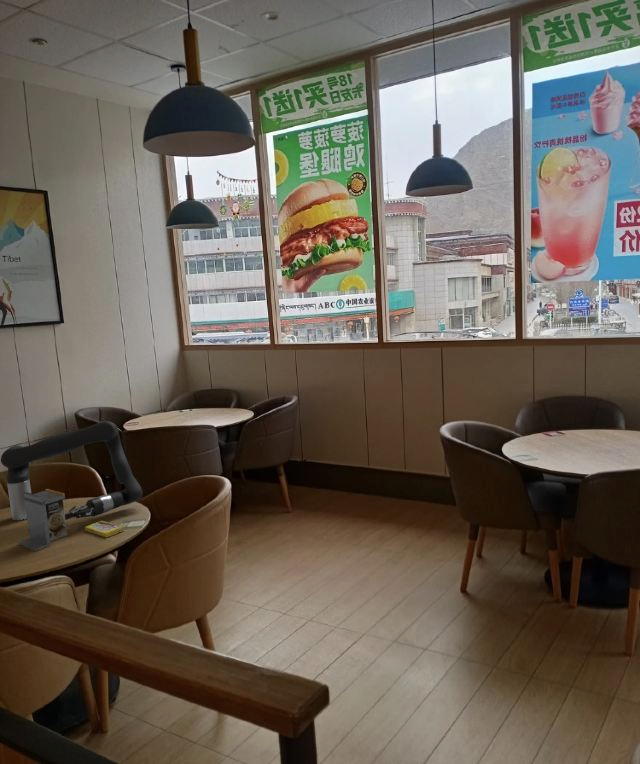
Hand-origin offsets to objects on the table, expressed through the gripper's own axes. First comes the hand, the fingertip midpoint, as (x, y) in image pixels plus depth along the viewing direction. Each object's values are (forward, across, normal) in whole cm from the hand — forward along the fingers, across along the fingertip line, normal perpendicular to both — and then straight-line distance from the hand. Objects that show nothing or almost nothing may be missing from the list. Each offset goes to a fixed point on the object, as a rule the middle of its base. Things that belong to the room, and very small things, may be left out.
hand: (62, 517), depth 257 cm
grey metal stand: (+9, 0, +7) cm, 11 cm away
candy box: (-15, +13, +6) cm, 20 cm away
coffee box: (+5, 0, +7) cm, 9 cm away
